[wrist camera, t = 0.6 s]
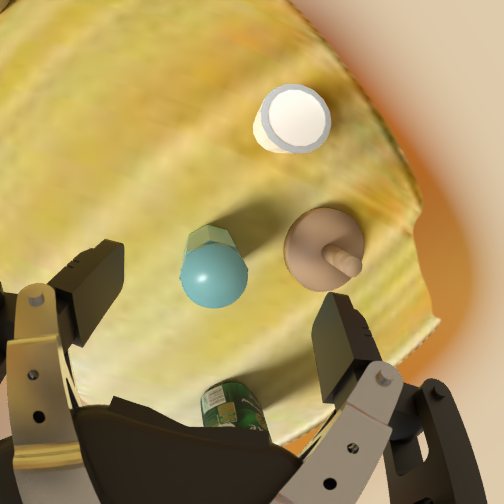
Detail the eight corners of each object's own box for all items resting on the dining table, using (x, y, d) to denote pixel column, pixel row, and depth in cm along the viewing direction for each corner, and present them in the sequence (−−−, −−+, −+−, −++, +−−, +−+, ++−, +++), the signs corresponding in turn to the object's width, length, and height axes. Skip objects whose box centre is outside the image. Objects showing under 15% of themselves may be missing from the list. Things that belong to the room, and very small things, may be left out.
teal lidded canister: (193, 220, 31) (190, 237, 22) (240, 234, 32) (256, 255, 24) (180, 267, 32) (174, 299, 23) (226, 279, 33) (236, 314, 25)
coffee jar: (267, 407, 40) (301, 503, 23) (224, 426, 40) (243, 521, 22) (238, 371, 37) (268, 482, 20) (191, 393, 37) (198, 502, 19)
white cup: (312, 150, 31) (340, 145, 25) (256, 164, 30) (272, 161, 24) (296, 96, 29) (320, 79, 22) (239, 107, 28) (251, 89, 22)
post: (299, 196, 32) (329, 203, 25) (366, 222, 35) (404, 235, 27) (272, 275, 34) (292, 303, 27) (339, 292, 37) (370, 319, 29)
